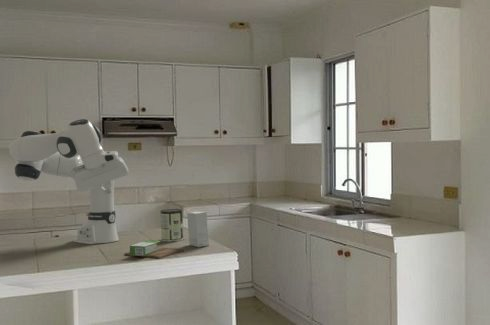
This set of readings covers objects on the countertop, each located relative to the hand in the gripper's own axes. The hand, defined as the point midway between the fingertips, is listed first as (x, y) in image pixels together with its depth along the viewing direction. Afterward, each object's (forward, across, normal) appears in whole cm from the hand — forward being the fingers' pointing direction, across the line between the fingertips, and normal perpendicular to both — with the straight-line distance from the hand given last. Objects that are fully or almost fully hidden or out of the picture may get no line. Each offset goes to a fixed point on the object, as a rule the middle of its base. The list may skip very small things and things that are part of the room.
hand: (108, 193), depth 204 cm
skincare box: (+40, +23, +19) cm, 50 cm away
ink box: (+26, +1, -1) cm, 26 cm away
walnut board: (+32, +6, +7) cm, 33 cm away
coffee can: (+40, +11, +36) cm, 55 cm away
